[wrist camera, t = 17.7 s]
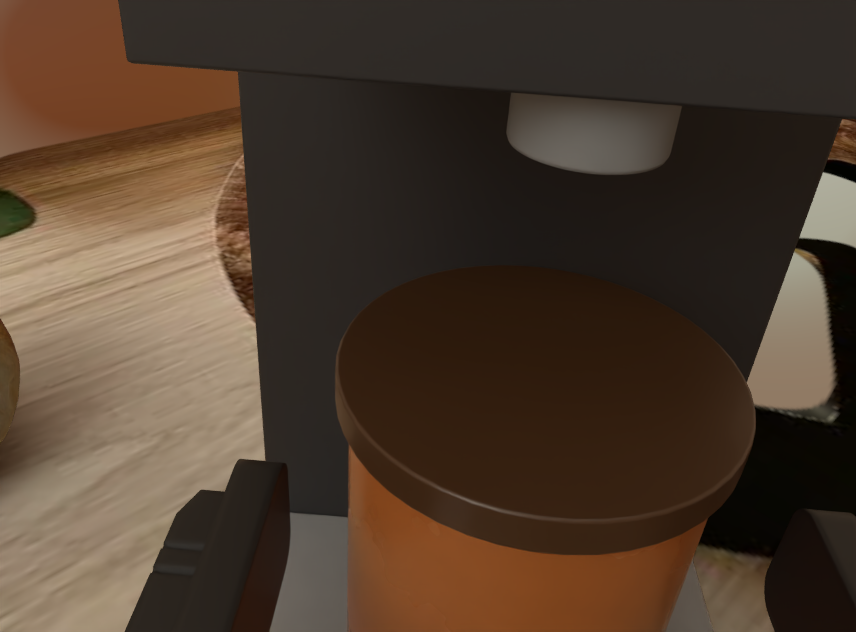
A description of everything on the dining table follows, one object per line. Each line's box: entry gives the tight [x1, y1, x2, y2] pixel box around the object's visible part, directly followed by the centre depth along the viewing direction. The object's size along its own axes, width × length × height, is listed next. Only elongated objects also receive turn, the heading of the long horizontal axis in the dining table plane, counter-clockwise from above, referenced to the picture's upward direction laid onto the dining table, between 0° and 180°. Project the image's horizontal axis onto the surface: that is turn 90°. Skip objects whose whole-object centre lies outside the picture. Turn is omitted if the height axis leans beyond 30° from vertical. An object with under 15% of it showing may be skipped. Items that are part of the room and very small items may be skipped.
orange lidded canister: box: [335, 265, 756, 632], centre depth 14 cm, size 6×6×10 cm
